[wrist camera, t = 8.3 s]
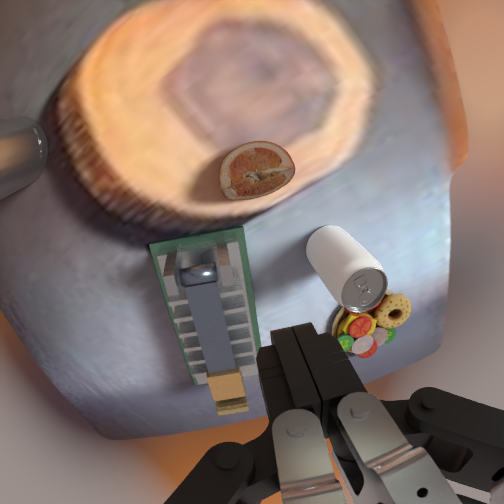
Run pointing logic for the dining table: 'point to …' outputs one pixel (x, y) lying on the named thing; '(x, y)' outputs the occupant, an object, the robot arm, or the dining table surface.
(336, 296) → the can
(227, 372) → the grey and tan bar
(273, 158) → the fruit slice
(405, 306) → the toy food set
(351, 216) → the dining table surface
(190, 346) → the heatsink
